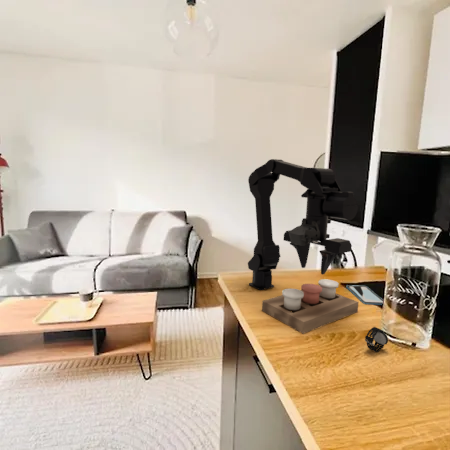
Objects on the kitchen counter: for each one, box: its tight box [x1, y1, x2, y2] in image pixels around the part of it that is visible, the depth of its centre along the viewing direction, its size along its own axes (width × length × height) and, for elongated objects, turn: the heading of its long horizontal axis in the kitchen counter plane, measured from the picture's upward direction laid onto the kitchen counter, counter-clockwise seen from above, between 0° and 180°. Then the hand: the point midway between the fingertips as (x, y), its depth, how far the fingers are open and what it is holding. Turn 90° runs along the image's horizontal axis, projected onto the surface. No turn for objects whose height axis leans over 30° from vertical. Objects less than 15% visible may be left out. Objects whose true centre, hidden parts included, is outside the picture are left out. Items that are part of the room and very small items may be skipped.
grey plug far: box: [317, 278, 340, 298], centre depth 88 cm, size 6×6×4 cm
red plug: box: [300, 283, 322, 304], centre depth 84 cm, size 6×6×4 cm
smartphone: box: [345, 284, 384, 306], centre depth 98 cm, size 7×1×15 cm
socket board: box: [261, 289, 359, 335], centre depth 85 cm, size 15×23×3 cm, turn 124°
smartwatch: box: [364, 326, 389, 353], centre depth 66 cm, size 4×5×5 cm
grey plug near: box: [281, 288, 304, 310], centre depth 80 cm, size 6×6×4 cm
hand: (312, 270), depth 83 cm, fingers open, 6 cm apart
